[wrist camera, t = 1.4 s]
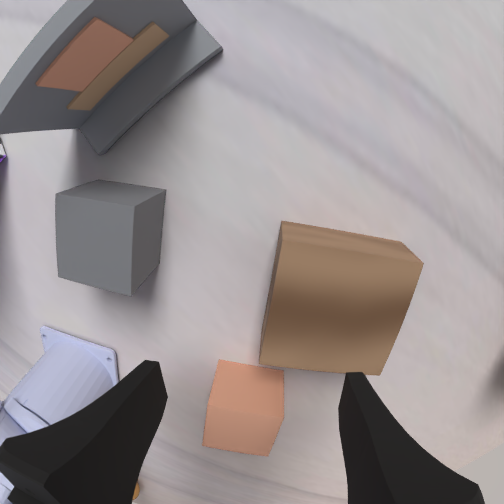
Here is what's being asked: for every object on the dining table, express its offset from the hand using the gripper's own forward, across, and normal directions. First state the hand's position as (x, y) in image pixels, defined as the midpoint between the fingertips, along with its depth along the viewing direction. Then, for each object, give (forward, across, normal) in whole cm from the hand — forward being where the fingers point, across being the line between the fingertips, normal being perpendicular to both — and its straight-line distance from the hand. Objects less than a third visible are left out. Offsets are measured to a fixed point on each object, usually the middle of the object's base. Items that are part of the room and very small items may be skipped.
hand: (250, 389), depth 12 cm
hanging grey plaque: (+10, +8, -14) cm, 19 cm away
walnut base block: (+11, -4, +1) cm, 11 cm away
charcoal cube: (+10, +9, -4) cm, 14 cm away
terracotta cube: (+10, +2, +10) cm, 14 cm away
